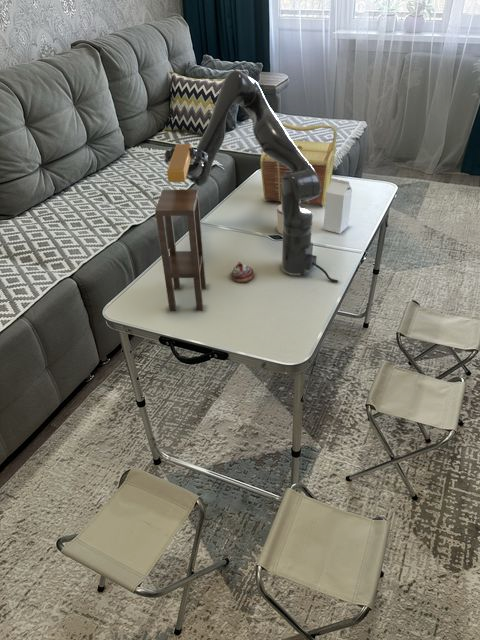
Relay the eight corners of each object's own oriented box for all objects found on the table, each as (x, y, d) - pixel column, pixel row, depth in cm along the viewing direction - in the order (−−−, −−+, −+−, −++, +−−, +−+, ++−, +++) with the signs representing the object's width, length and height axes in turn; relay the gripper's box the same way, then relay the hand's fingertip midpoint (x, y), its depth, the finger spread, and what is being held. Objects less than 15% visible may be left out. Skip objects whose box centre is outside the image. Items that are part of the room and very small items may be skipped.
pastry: (227, 273, 170) (227, 260, 167) (248, 268, 172) (248, 255, 169) (236, 285, 164) (236, 271, 161) (258, 280, 167) (258, 266, 164)
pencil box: (177, 154, 155) (176, 143, 153) (192, 154, 155) (191, 143, 153) (168, 182, 138) (166, 170, 136) (184, 182, 138) (183, 170, 136)
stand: (175, 286, 164) (162, 189, 144) (206, 285, 164) (197, 189, 144) (169, 310, 153) (155, 210, 133) (202, 310, 153) (193, 210, 133)
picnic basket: (335, 188, 226) (341, 116, 207) (327, 212, 207) (333, 135, 188) (271, 183, 231) (271, 112, 212) (257, 206, 212) (257, 130, 193)
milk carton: (340, 234, 192) (345, 184, 180) (323, 229, 195) (327, 181, 183) (347, 226, 197) (353, 178, 185) (331, 222, 200) (335, 174, 188)
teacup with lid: (294, 238, 190) (295, 208, 182) (272, 232, 193) (272, 203, 186) (307, 225, 198) (309, 196, 190) (286, 220, 201) (287, 192, 194)
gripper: (166, 150, 165) (156, 137, 148) (210, 150, 165) (205, 137, 148) (167, 174, 166) (158, 164, 149) (211, 174, 166) (206, 164, 149)
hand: (181, 151), depth 149 cm, fingers closed on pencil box, 4 cm apart
